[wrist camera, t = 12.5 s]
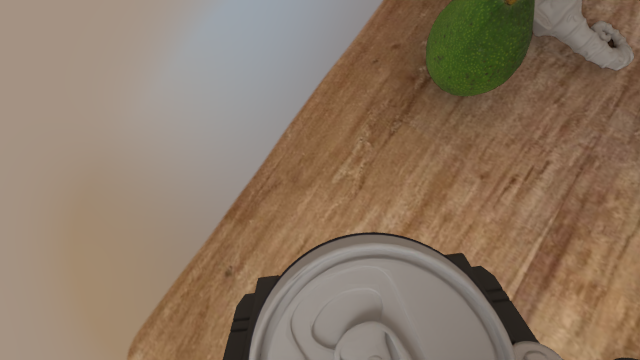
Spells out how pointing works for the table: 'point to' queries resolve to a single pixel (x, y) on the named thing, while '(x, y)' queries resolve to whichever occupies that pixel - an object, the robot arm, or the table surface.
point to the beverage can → (377, 306)
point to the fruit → (478, 44)
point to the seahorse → (581, 33)
